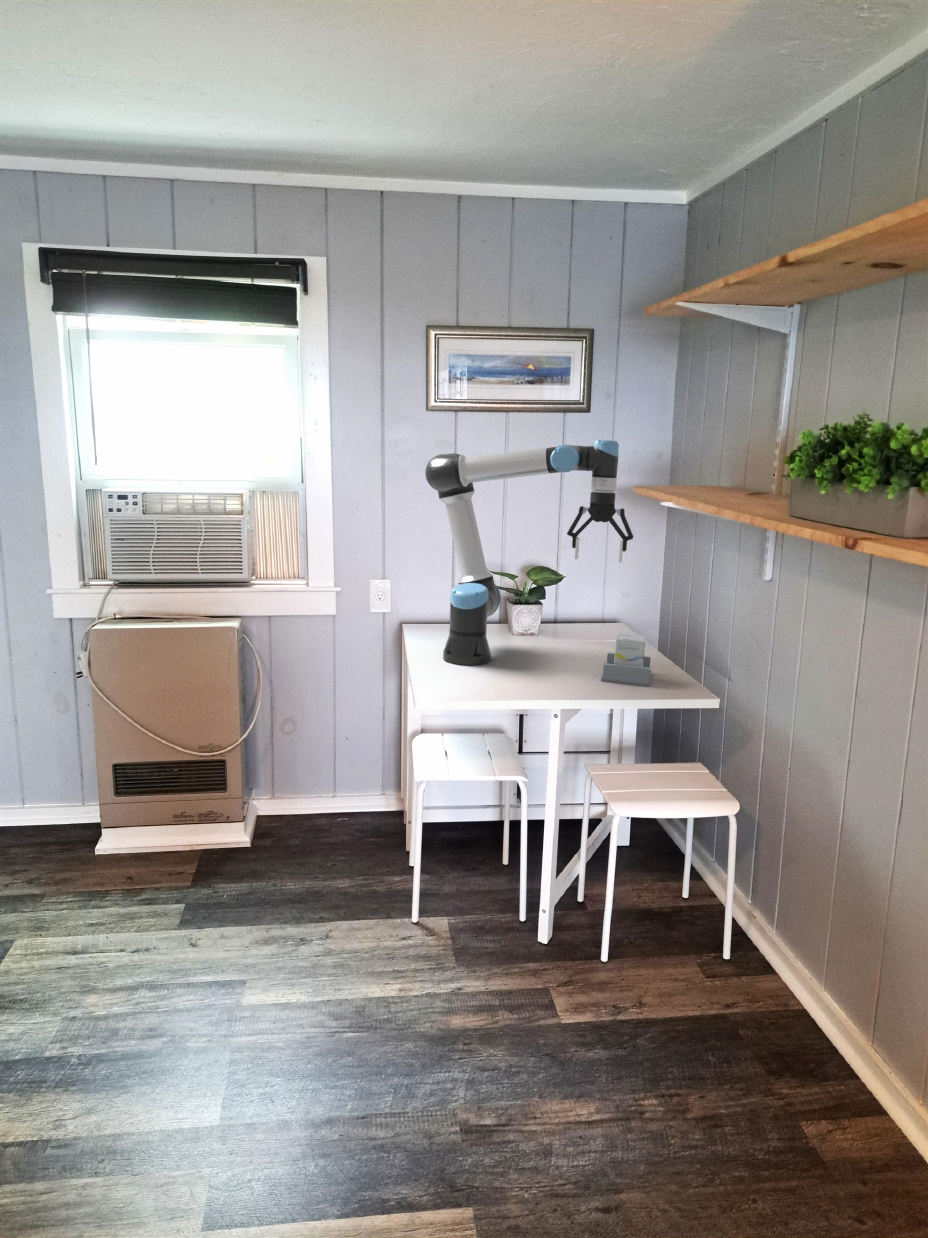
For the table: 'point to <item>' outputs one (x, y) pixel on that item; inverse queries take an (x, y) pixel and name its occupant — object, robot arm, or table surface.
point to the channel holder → (626, 672)
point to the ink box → (629, 650)
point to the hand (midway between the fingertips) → (598, 560)
